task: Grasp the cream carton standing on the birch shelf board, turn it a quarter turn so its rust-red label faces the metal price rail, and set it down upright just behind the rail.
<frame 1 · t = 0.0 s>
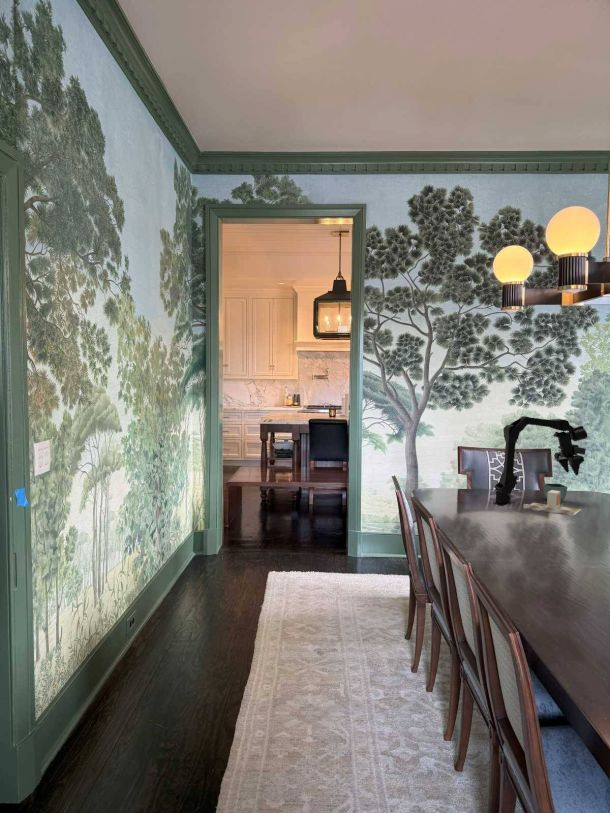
hand: (572, 473, 273), 15 cm above the table, tool pointing down, fingers open, 9 cm apart
shelf board: (552, 511, 260), on the table
carton: (553, 508, 261), point 1 cm above the table, touching shelf board
flower pot: (554, 502, 278), on the table
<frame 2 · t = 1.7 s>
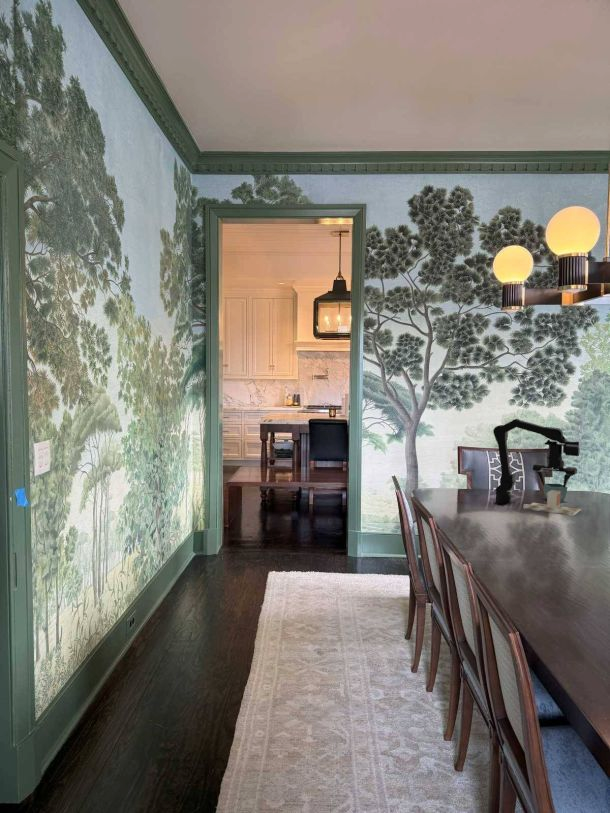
hand: (553, 486, 261), 11 cm above the table, tool pointing down, fingers open, 9 cm apart
nothing on the table moved.
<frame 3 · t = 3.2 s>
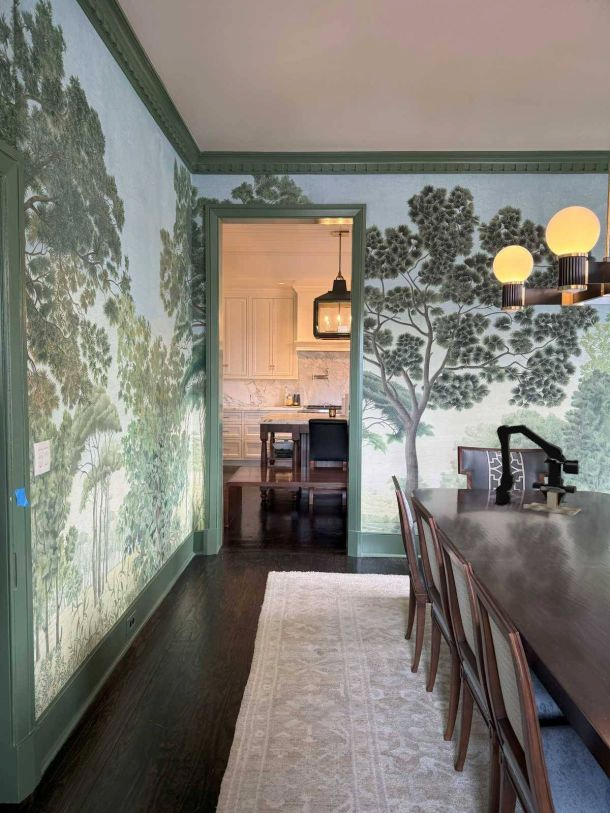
hand: (553, 505, 261), 3 cm above the table, tool pointing down, fingers closed on carton, 4 cm apart
carton: (553, 508, 261), point 1 cm above the table, touching gripper
everything else where it was.
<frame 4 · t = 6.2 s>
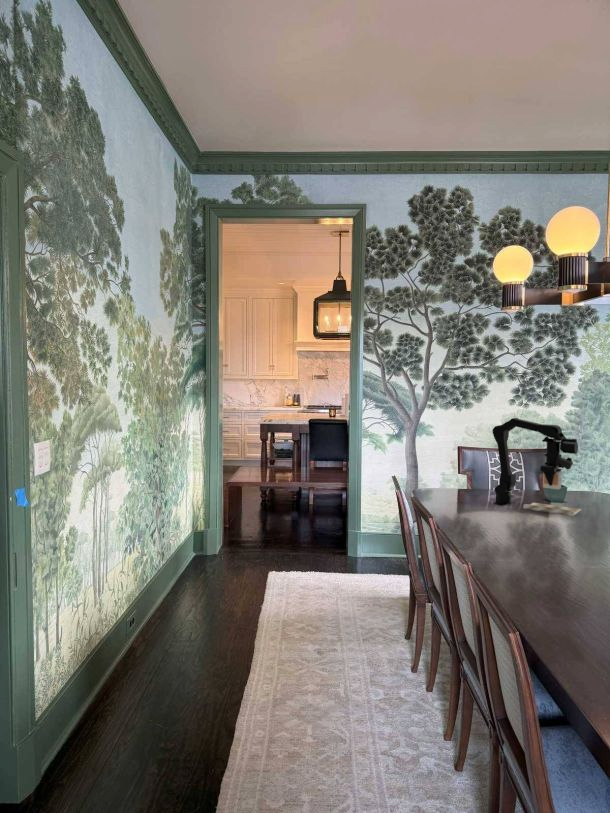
hand: (551, 484, 258), 13 cm above the table, tool pointing down, fingers closed on carton, 4 cm apart
carton: (551, 487, 258), point 11 cm above the table, touching gripper
everything else where it was.
when the fingers open (4 cm above the table, at t = 8.7 s): carton drops 1 cm, resting on shelf board.
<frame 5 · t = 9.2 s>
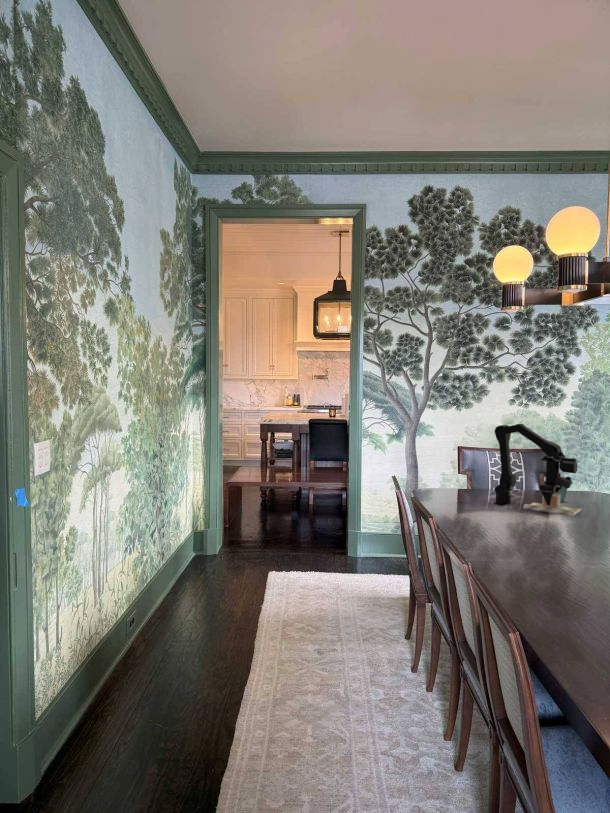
hand: (551, 503, 258), 4 cm above the table, tool pointing down, fingers open, 9 cm apart
carton: (551, 509, 258), point 1 cm above the table, touching shelf board
everything else where it was.
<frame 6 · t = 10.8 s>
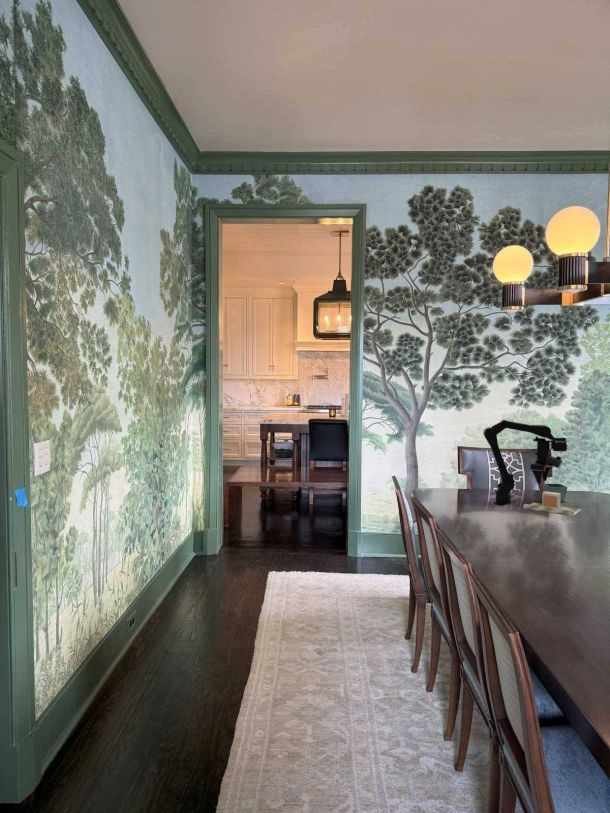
hand: (542, 482, 269), 12 cm above the table, tool pointing down, fingers open, 9 cm apart
nothing on the table moved.
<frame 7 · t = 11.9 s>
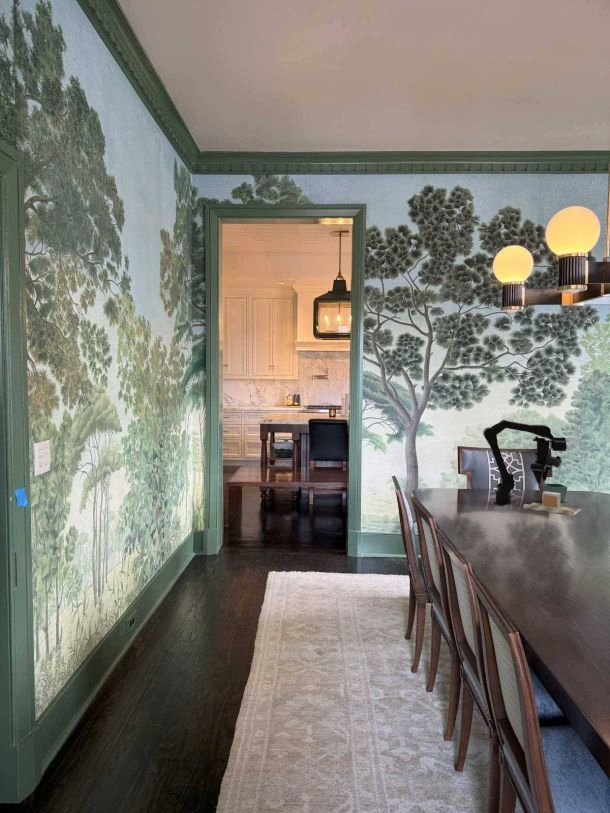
hand: (541, 482, 269), 12 cm above the table, tool pointing down, fingers open, 9 cm apart
nothing on the table moved.
at the end: carton 0.1 cm from the target spot, point 1.0 cm above the table; carton tilted 0°; the gripper is holding nothing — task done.
